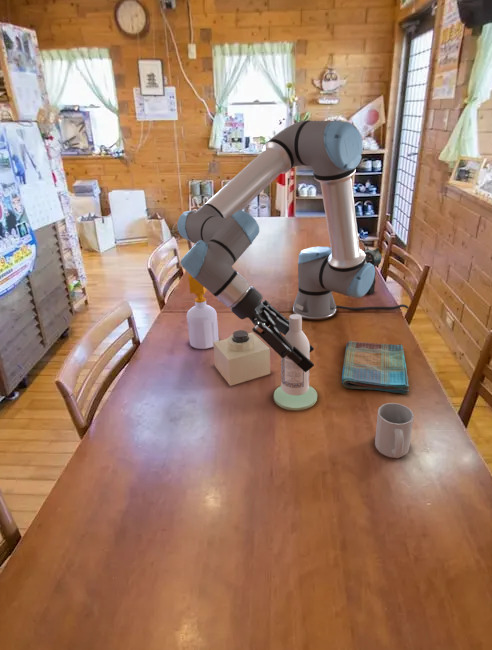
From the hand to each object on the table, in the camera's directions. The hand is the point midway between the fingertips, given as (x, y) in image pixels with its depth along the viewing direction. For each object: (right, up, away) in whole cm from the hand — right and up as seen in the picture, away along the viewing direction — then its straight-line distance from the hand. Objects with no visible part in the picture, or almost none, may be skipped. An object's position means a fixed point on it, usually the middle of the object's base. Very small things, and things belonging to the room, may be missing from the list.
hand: (309, 359), depth 110 cm
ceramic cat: (+23, +22, +71) cm, 77 cm away
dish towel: (+19, -4, +17) cm, 26 cm away
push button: (-18, +4, +13) cm, 22 cm away
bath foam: (-3, -8, +4) cm, 9 cm away
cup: (+17, -18, -13) cm, 28 cm away
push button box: (-18, -5, +17) cm, 25 cm away
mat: (-3, -10, +5) cm, 12 cm away
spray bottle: (-31, +2, +32) cm, 44 cm away
